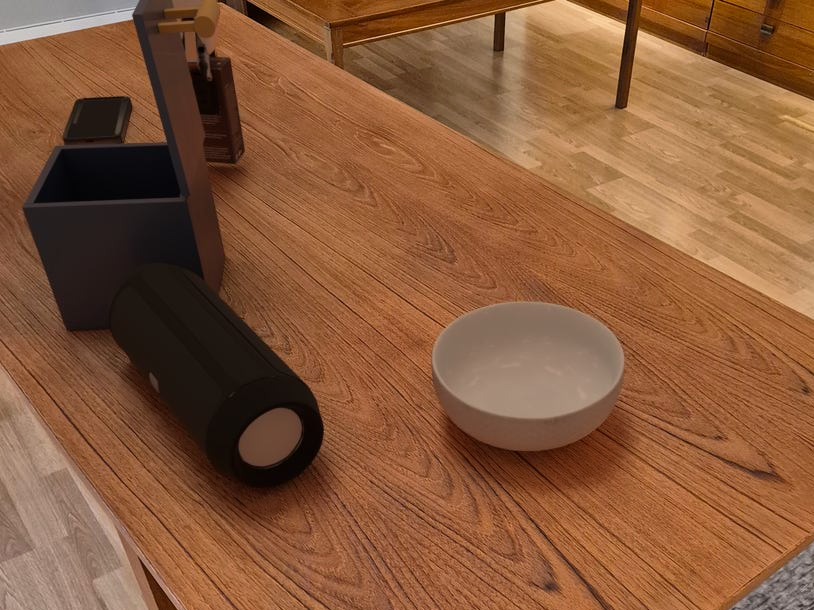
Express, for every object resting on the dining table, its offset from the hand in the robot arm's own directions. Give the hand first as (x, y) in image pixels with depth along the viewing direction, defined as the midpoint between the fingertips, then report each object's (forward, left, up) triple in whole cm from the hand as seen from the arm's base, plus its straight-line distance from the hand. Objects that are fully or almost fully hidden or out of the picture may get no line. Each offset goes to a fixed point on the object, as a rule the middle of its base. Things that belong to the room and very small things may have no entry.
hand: (209, 103), depth 111 cm
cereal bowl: (+32, -55, -9) cm, 64 cm away
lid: (+2, -30, +13) cm, 33 cm away
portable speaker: (+4, -51, -9) cm, 52 cm away
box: (0, 0, -7) cm, 7 cm away
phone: (-18, +16, -9) cm, 26 cm away
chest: (-5, -30, -9) cm, 31 cm away
